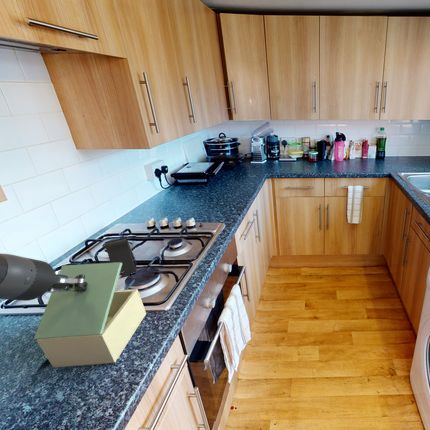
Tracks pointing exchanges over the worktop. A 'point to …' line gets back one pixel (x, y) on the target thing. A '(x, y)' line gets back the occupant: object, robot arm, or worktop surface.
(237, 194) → the worktop surface
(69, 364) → the box
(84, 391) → the worktop surface
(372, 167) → the worktop surface
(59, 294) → the lid
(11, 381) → the worktop surface
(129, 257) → the phone stand
